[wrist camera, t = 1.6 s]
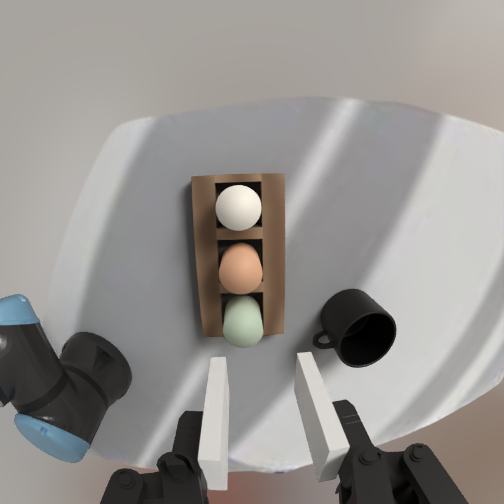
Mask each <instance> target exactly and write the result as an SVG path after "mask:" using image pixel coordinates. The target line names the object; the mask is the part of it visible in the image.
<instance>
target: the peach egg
mask: <svg viewBox="0 0 504 504" xmlns="http://www.w3.org/2000/svg"><path fill="white" fill-rule="evenodd" d="M262 275H263V272H262V267H261V263H260V260H259V256H258V253H257V251H256V250H255V249H254V248H253V247H252V246H251V245H249V244H247V243H243V242H239V243H234V244H232V245H230V246H229V247H228V248H227V249H226V250H225V251H224V253H223V256H222V260H221V265H220V269H219V278H220V281H221V283H222V285H223V286H224V288H226V289H227V290H228V291H230V292H232V293H234V294H247V293H250V292H252V291H253V290H255V289H256V288H257V287H258V286H259V284H260V282H261V280H262Z"/></svg>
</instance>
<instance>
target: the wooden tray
mask: <svg viewBox="0 0 504 504" xmlns="http://www.w3.org/2000/svg"><path fill="white" fill-rule="evenodd" d="M191 179H192V205H193V224H194V241H195V255H196V268H197V280H198V291H199V301H200V310H201V320H202V328H203V337H224V334H223V325H224V316H223V302H222V293H232V292H230V291H228V290H227V289H226V288H224V286H223V285H222V283H221V281H220V278H219V269H220V253H219V240H236V239H261V267H262V272H263V275H262V280H261V282H260V284H259V286H258V287H257V288H256V289H255V290H253V291H252V292H262V325H263V335H274V334H284V302H285V179H284V174H231V175H209V176H193V177H191ZM237 182H260V201H261V214H260V217H261V224H256V225H253V226H252V227H250V228H248V229H246V230H241V231H235V230H231V229H229V228H227V227H225V226H218V217H217V214H216V202H217V183H237Z"/></svg>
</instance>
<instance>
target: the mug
mask: <svg viewBox="0 0 504 504" xmlns="http://www.w3.org/2000/svg"><path fill="white" fill-rule="evenodd" d="M321 324H322V328H323V330H322V331H321V332H319V333H317V334H316V335H315V336H314V338H313V345H314V346H315V347H317V348H319V349H329V348H334V349H335V351H336V353H337V354H338V356H339V358H340V360H341V361H342V362H343V363H344V364H346V365H348V366H350V367H355V368H360V367H366V366H369V365H371V364H373V363H375V362H377V361H378V360H380V359H381V358H382V357H383V356H384V355H385V354H386V353H387V352H388V351H389V350H390V348H391V346H392V345H393V343H394V340H395V337H396V324H395V321H394V319H393V318H392V316H391V315H390V314H389V313H388V312H386V311H385V310H384V309H383V308H382V307H381V306H380V305H379V304H378V303H376V302H375V301H374V300H373V299H372V298H371V297H370V296H369V295H368V294H366V293H365V292H363V291H361V290H358V289H347V290H343V291H341V292H339V293H337V294H335V295H334V296H333V297H332V298H331V299H330V300H329V301H328V302H327V304H326V305H325V307H324V309H323V312H322V316H321ZM326 335H327V337H328V339H329V340H330V342H329V343H325V344H323V343H320V342H318V339H319V338H320V337H322V336H326Z"/></svg>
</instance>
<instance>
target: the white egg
mask: <svg viewBox="0 0 504 504" xmlns="http://www.w3.org/2000/svg"><path fill="white" fill-rule="evenodd" d="M216 214H217V217H218V219H219V221H220V222H221V223H222V224H223V225H224V226H225V227H227V228H229V229H231V230H235V231H241V230H246V229H248V228H250V227H252V226H253V225H254V224H255V223H256V222H257V221H258V219H259V217H260V214H261V201H260V199H259V197H258V195H257V194H256V193H255V192H254V191H253V190H252V189H250V188H249V187H246V186H242V185H235V186H231V187H229V188H227V189H225V190H224V191H223V192H222V193H221V194H220V195H219V197H218V199H217V202H216Z"/></svg>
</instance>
